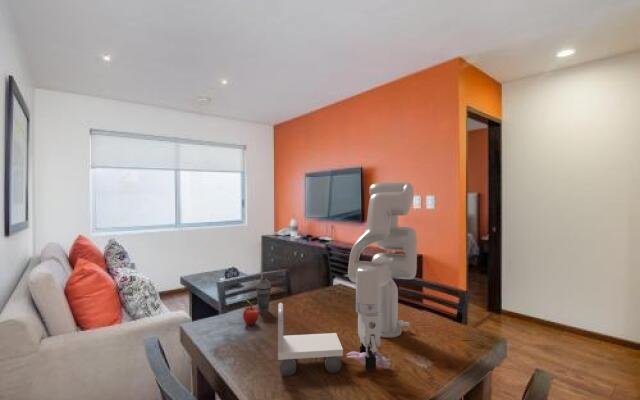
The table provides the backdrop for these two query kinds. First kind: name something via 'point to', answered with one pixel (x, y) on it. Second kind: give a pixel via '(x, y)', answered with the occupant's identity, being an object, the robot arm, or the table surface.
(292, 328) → the table surface
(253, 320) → the apple
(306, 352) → the trolley
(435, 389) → the table surface
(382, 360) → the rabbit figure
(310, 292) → the table surface
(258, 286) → the beverage cup
